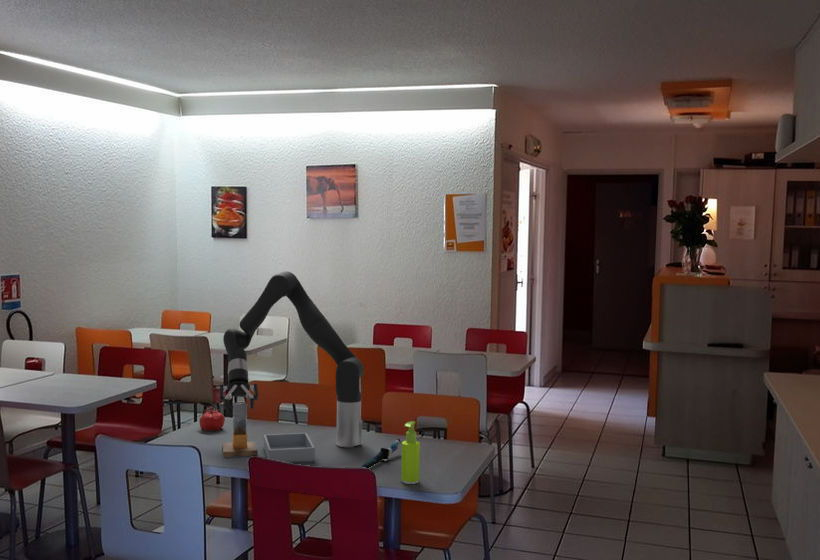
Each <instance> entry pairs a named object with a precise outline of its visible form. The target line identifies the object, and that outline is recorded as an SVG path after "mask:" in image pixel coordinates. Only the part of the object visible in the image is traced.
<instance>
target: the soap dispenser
mask: <svg viewBox="0 0 820 560" xmlns="http://www.w3.org/2000/svg"><path fill="white" fill-rule="evenodd" d="M415 424H416V421H412V420H411V421H407V422H406V423H404V427H406V428H408V430H407V431H405V440H403V441H402V442H401V468H400V469H401V472H400V473H401V475H400V476H401V477H400V480H401V479H402V480H403V481H407V482H416V481H418V480H419V481H420V460H421V459H420V456H421V455H420V453H421V452H420V451H421V449H420V448H421V443H420V441H418V440H417V431H415V428H414V427H415Z"/></svg>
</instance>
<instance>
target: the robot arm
mask: <svg viewBox="0 0 820 560" xmlns="http://www.w3.org/2000/svg"><path fill="white" fill-rule="evenodd" d="M285 297H287V298H288V300H289V301H290V302H291V303H292V305H293V306H294V309H295V310H296V313H297V316H298V320H299V322H300V324H301V327H302V329H303V330H304V332H305V333H306V335H307V336H308V337H309V339H310V340H312V342H314V344H316V345H317V346H318V347H319V348H320V349H322V350H323V351H324V352H326V353H327V354H328V355H329V356H330V357H331V359H332V360H333V361H334V363H335V364H336V366H337V367H336V369H335V394H336V433H335V434H336V439H335V440H336V446H338V447H341V448H355V447H354V446H357V445H361V444H362V445H363V443H362V441H363V439H362V438H363V422H362V393H361V391H360V378H361V377H362V376H363V375H364V365H363V363H362V361H361V360H360V359H359V357H357V356H356V355H355V354H354V353H353V352H352V351H351V350H350V349H349V348H348V346H347V345H346V344H345V343H344V342H343V340H342V339H341V337H340V335H339V334H338V332H336V330H335V329H334V327H333V326H332V325H331V323H330V322H329V321H328V319H327V318H326V317H325V315H324V314H323V313H322V312H321V311H320V309H319V307H318V306H317V305H316V304H315V303H314V301H313V300H312V299H311V298H310V296H309V294H307V291H306V290H305V288H304V287H303V286H302V284H301V282H300V281H299V279H298V278H297V276H296V275H295V274H294V273H292V271H282V272H278V273H276V274H274V275H272V276H271V278H270V279H269V281H268V283H267V284H266V286H265V288H264V289H263V291H262V293H261V295H260V296H259V298H258V299H257V301H256V302H254V304H253V305H252V307H251V308H250V309H249V310H248V311H247V313H246V314H245V315H244V316H243V317H242V319H241V320H240V321H239V327H240V329H241V330H242V331H241V330H240V329H239V330H238V329H236V328H233V327H230V328H228V329H227V330H226V331H225V332H224V334H223V341H222V342H223V345H224V348H225V351H226V354H227V356H228V366H227V378H228V381H227V382H228V383H227V385H223V384H220V385H219V397H218V398H219V401H220V402H223V403H224V410H226V412H227V411H228V412H229V401H230V400H231V399H232V398H233V397H234V398H237V397H240V398H241V397H245V398H246V399H247V400H248V401H249V410H250V411H252V410H253V409H254V407H255V406H254V402H255V401H258V400H259V390H258V389H259V388H258V384H257V383H254V384H250V383H249V367H248V358H247V357H248V356H247V351H246V350H245V349H247V348H248V347H249V346H250V344H251V342H252V339H253V337H254V335H255V333H256V331H257V330H258V329H259V327H261V325H262V324H263V323H264V321H265V319H266V318H267V316H268V314H269V312H270V311H271V309H272V308H273V306H274V305H275V304H277V303H278V302H279V301H280V300H281V299H282V298H285ZM250 389H251V391H252V392H253V394H252V393H251V391H250ZM226 390H227V391H228V393H227V394H226V395H225V396H224V392H225V393H226ZM357 447H358V446H357Z"/></svg>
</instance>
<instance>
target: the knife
mask: <svg viewBox="0 0 820 560" xmlns="http://www.w3.org/2000/svg"><path fill="white" fill-rule="evenodd" d="M401 444H402V442H401V439H400V438H397V439H396V440H395V441H394V442H393V443H392V444H391V445H389V447H387V448H386V447H380V450H379V452H378V453H377V455H375V456H374V457H373V458H371V459H369V460H368V461H366V462H365V463H364V464H362V466H361V467H366V468H369V467H371V466H373V465H374V464H376V463H377V464H379V463H380V462H382V461H381V460H382V459H388V460H389V456H390V455H392V454H393V453H394V452H396V451H397V450H398V449H399V448H401V447H400V446H401ZM378 462H379V463H378ZM377 464H376V465H377ZM373 467H374V466H373Z"/></svg>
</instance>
